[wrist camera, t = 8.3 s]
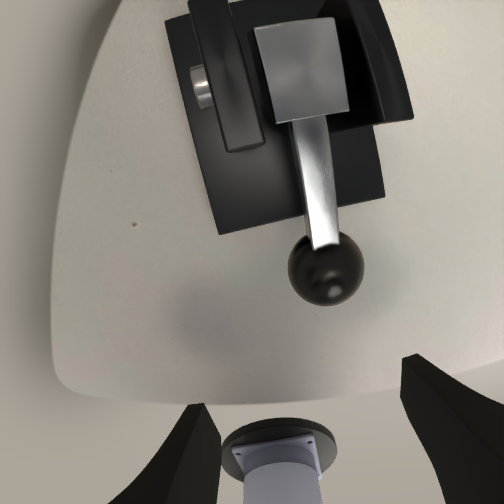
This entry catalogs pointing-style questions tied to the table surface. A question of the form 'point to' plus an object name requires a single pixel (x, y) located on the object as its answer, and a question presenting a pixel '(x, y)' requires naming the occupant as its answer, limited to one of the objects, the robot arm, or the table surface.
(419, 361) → the robot arm
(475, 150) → the table surface
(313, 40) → the lever
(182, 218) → the table surface
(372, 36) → the bracket
